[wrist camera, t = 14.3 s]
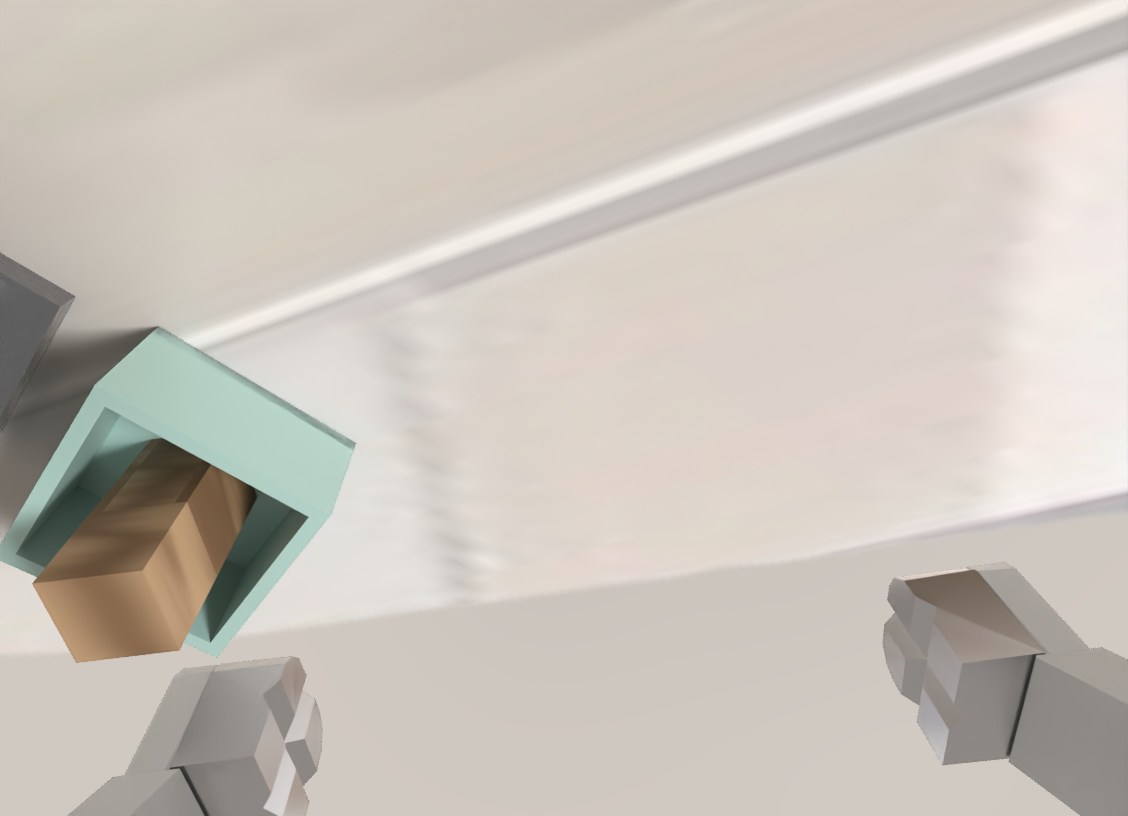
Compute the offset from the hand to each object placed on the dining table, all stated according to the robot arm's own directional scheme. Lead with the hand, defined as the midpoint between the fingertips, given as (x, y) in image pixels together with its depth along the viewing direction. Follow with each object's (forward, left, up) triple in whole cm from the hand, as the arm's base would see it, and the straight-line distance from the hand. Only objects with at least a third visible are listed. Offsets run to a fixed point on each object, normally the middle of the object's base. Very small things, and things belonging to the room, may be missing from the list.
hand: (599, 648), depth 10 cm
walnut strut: (-5, -24, -30) cm, 39 cm away
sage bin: (-5, -24, -31) cm, 40 cm away
